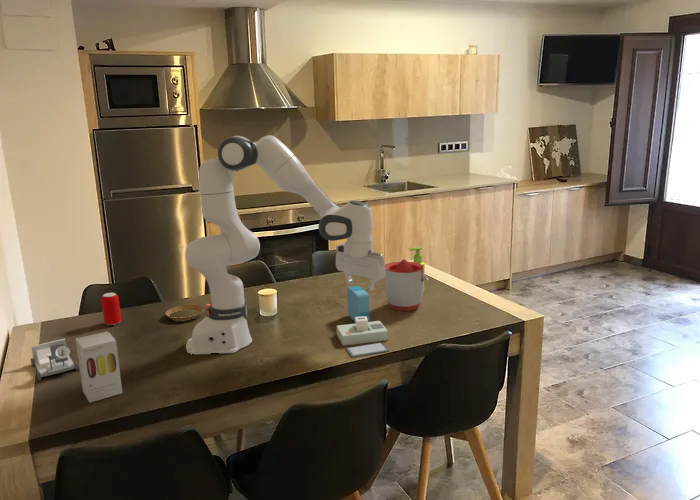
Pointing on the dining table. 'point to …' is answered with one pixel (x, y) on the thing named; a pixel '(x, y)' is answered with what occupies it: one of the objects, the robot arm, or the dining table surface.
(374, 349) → the phone
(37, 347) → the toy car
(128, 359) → the dining table surface
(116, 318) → the beverage can
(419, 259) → the soap dispenser
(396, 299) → the citrus juicer
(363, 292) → the blue rounded block
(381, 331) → the socket strip
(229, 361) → the dining table surface
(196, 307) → the plant saucer
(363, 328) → the plug
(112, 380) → the supplement box
